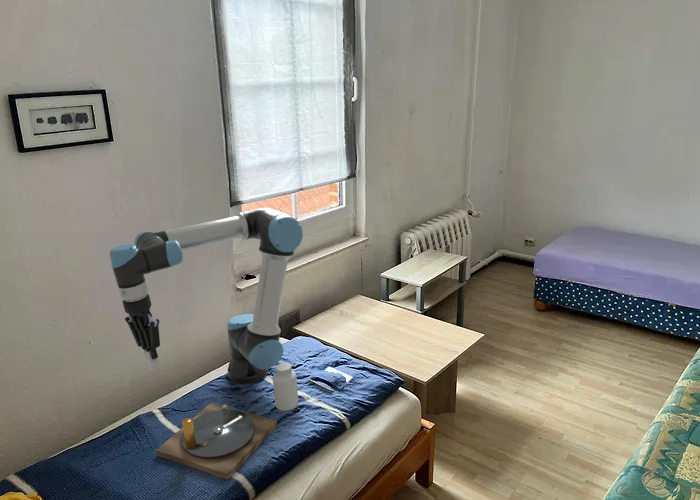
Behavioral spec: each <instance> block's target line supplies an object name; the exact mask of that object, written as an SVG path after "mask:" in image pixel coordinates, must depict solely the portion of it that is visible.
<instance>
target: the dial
mask: <svg viewBox="0 0 700 500" xmlns="http://www.w3.org/2000/svg"><path fill="white" fill-rule="evenodd" d="M237 410H238V409H237ZM237 410H230V409H224V410H216V411H212V412H208V413H206V414H203V415H201V416H199V417H197V418H195V419H194V420H193V418H191V417H187V418H184V419H183V420H182V421H181V424H182V425H181V426H182V427H183V432H182V436H181V441H182V446H183V448H184V450H185V451H186V452H187V453H188V454H190V455H192V456H194V457H198V458H203V459H214V458H221V457H225V456H228V455H231V454H233V453H235V452H237V451H239V450H241V449H242V448H243V447H245V446H246V445H247V444H248V443H249V442H250V440H251V439H252V437H253V435H254V422H253V420H252V419H251V417H250V416H248V415H247V414H245V413H244V412H241V411H242V410H241V411H237Z"/></svg>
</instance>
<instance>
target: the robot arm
mask: <svg viewBox="0 0 700 500" xmlns="http://www.w3.org/2000/svg"><path fill="white" fill-rule="evenodd" d="M303 233H304V232H303V227H302V225H301V223H300V221H298V220H297V219H296V218H295V217H293V216H292V215H290V214H288V213H286V212H283V211H280V210H277V209H276V208H273V207H261V208H254V209H251V210H249V209H248V210H246V211H245V210H244V211H241V212H237V213H236V215H235V216H231V217H226V218H221V219H216V220H211V221H207V222H202V223H196V224H191V225H188V226H186V225H185V226H183V227H177V228H171V229H167V230H162V231H156V232H152V231H148V230H145V231H141V232H139V233H137V235H136V236H135V238H134V241H133V244H131V243H128V244H127V243H126V244H121V245H119V246H115V247H113V248H112V249H110V252H109V259H110V262H111V268H112V271H113V274H114V278H115V281H116V284H117V287H118V290H119V295H120V297H121V298H120V299H121V300H122V306H123V308H124V312H125V313H126V314H128V316H126V317H124V320H125V322H126V324H127V325H128V327H129V329H130V331H131V334H132V336H133V338H134V341H135V342H136V343H135V344H136V345H137V347H139V348H141V349H142V350H143V351H144V355H145V358H146V360H147V365H148V367H149V370H150V371H151V370H152V371H154V370H156V369H157V368H159V367H160V366H161V364H160V361H159V360H160V359H159V355H158V351H157V348H159V347H160V346H161V340H160V330H159V329H160V328H159V325H160V319H158V318H156V319H155V318H154V317H153V315H152V313H151V310H150V309H151V307H152V301H151V297H150V295H149V289H148V285H147V281H146V278H145V275H147V274H150V273H155V272H157V271H161V270H165V269H168V268H173V267H175V266H177V265H179V264H182V262H183V260H184V255H183V251H187V250H191V249H196V248H200V247H204V246H205V247H206V246H211V245H214V244H215V245H216V244H217V243H223V242H228V241H231V240H232V241H233V240H237V239H242V240H244V241H245V240H246V241H247V240H251V239H257V240H260V242H259V248H258V251H259V252H260V253H261V255H262V257H261V265H260V271H259V277H258V278H259V279H258V283H257V284H258V285H257V291H256V299H255V302H254V303H255V304H254V311H253V313H245V314H239V315H235V316H233V317H232V318H230V319H229V320H228V321H227V324H226V327H227V330H226V331H227V336H228V344H229V353H230V354H229V355H230V359H229V363H228V367H227V376H228V379H229V380H230V381H232V382H234V383H236V384H253V383H256V382H259V381H261V380H263V379H265V377H267V376H268V374H269V372H270V371H269V369H271V368H274V367H275V366H276V365H277V364H279V362H280V361H281V359H282V358H283V356H284V347H283V345H282V342H281V341H280V337H281V328H280V326H279V325H278V322H279V318H280V316H279V315H280V311H281V304H282V298H283V292H284V287H285V286H284V285H285V280H286V274H287V273H286V272H287V269H288V268H287V267H288V262H289V259H290V258H292V257H293V256H294V252H295V250H297V248H298V247H299V246H300V245H301V243H302V241H303V236H304V235H303Z"/></svg>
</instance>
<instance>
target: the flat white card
mask: <svg viewBox="0 0 700 500" xmlns="http://www.w3.org/2000/svg"><path fill="white" fill-rule="evenodd" d="M324 371H328V372H334V373H340V374H342V375H343V376H344V377H345V378H346V382H347V383H349V382H350V381H351V380H352V379H353V378H354V377H353V376H351V375H349V374H347V373H345V372H342V371H340V370H337V369H336V368H333V367H331V366H328V367H327V368H326V369H325V370H324ZM333 375H334V374H333ZM334 376H335V375H334ZM336 377H337V375H336ZM308 381H311V382H314V383H315V384H317V385H319V386H321V387H323V388H326V389H327V390H329V391H333V392H334V390H333V389H331V388H329V387H327V386H325V385H323V384H321V383H318V382H317V381H315V380H312V379H310V378H309V379H308ZM346 382H345V383H346Z"/></svg>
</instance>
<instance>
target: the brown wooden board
mask: <svg viewBox="0 0 700 500" xmlns="http://www.w3.org/2000/svg"><path fill="white" fill-rule="evenodd" d="M224 409H230V410H237V411H241V412H244V413H245V414H247V415H248V416H250V417H251V419H252V420H253V422H254V435H253V437H252V439H251V440H250V442H249V443H248V444H247V445H246V446H245V447H243V448H242V449H241V450H239V451H237V452H235V453H233V454H231V455H228V456H225V457H221V458H214V459H203V458H198V457H194V456H192V455H190V454H188V453H187V452H186V451H185V450H184V448H183V446H182V441H181V436H182V432H183V426H182V427H181V428H180V429H179V430H177V431H176V432H175V433H174V434H173V435H172V436H171V437H169V438H168V439H167V440H166V441H165V442H164V443H163V444H161V445H160V446H159V447H158V448H157V449H156V450H155V451H156V456H158V457H161V458H163V459H166V460H168V461H171V462H175V463H178V464H180V465H184V466H186V467H189V468H192V469H195V470H198V471H201V472H205V473H206V474H210V475H213V476H216V477H218V478H221V477H223V478H222V479H224V478H226V479H225V480H227V479H231V478H232V477H233V475H234V474H235V473H236V472H237V471H238V469H239V468H241V467H242V465H244V463H245V462H246V461H247V460H248V459H249V458H250V456H251V455H252V454H253V453H255V451H256V450H257V449H258V447H259V446H260V445H262V443H263V442H264V441H266V439H267V438H268V437H269V435H270V434H271V433H272V432H273V431H274V430H275V429H276V428H277V426H278V419H277V420H276V419H274V418H273V419H272V418H270V417H267V416H262V415H259V414H255V413H251V412H247V411H244V410H241V409H237V408H233V407H230V406H228V404H220V403H215V402H210V403H209V404H207V405H206V406H205V407H204V408H203V409H202V410H201V411H200V412H198V413H197V414H196V415H195V416H194V417H193V418H192V419H193V420H194V419H195V418H197V417H199V416H201V415H203V414H206V413H208V412H212V411H216V410H224Z"/></svg>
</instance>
